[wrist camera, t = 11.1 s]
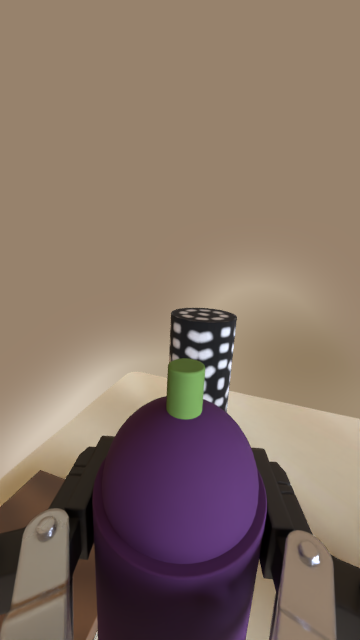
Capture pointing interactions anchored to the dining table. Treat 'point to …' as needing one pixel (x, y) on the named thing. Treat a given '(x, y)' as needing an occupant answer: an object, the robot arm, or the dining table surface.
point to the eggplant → (177, 520)
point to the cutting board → (38, 500)
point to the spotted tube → (206, 347)
